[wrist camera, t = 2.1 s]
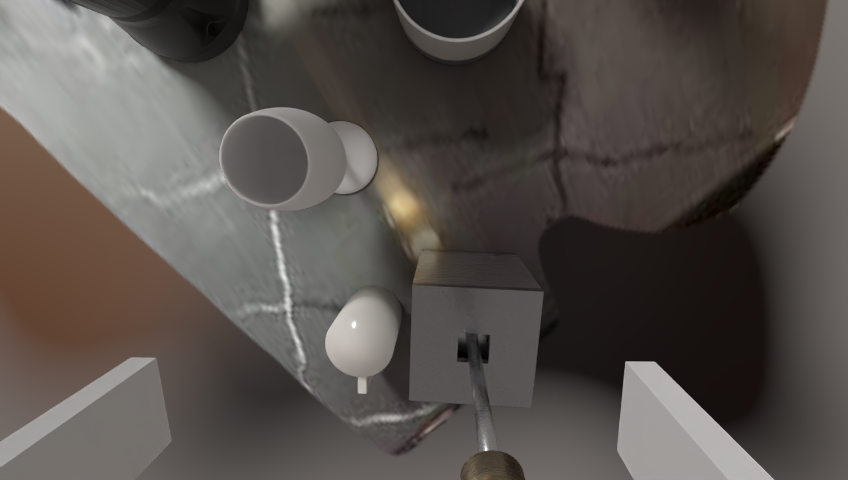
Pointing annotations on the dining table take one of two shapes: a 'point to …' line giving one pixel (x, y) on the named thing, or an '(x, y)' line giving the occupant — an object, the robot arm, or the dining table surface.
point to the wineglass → (294, 158)
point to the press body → (474, 326)
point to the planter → (456, 27)
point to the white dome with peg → (365, 334)
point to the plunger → (484, 419)
